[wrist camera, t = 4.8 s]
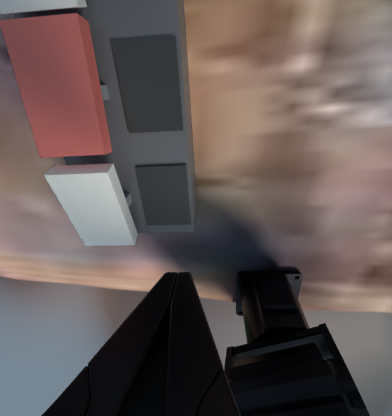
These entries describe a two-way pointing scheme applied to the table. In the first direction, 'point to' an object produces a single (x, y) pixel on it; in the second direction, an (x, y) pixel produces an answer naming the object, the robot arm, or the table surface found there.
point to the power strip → (144, 107)
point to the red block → (59, 83)
